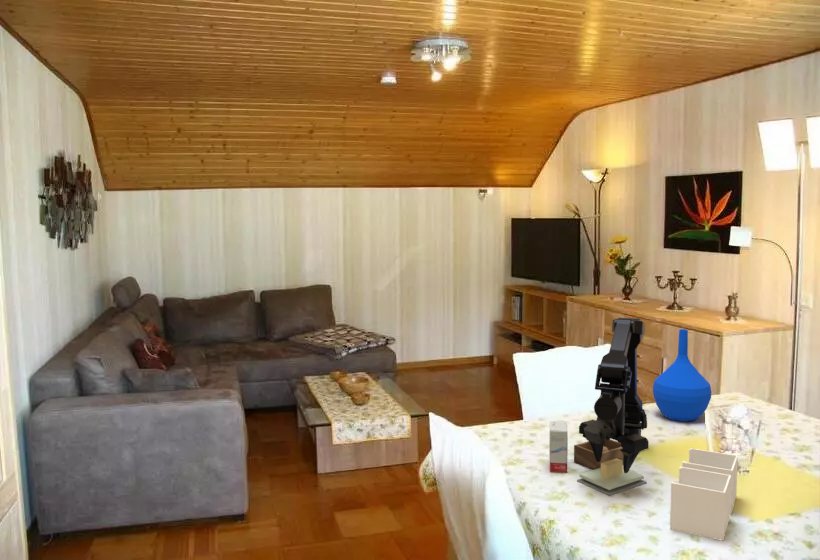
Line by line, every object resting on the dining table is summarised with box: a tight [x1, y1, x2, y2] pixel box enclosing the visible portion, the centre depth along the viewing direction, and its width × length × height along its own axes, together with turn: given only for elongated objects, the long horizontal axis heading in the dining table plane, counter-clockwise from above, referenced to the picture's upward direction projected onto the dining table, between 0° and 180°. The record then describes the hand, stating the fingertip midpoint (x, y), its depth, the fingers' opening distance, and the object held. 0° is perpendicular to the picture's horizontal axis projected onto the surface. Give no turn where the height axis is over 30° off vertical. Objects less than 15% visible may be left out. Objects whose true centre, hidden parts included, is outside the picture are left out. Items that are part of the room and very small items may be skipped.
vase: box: [652, 328, 712, 422], centre depth 234 cm, size 18×18×30 cm
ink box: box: [548, 421, 569, 474], centre depth 193 cm, size 9×5×12 cm, turn 168°
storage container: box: [669, 447, 739, 541], centre depth 163 cm, size 25×11×11 cm, turn 149°
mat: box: [576, 478, 648, 497], centre depth 182 cm, size 14×11×1 cm
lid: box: [579, 458, 645, 490], centre depth 182 cm, size 13×10×5 cm
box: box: [573, 439, 623, 471], centre depth 196 cm, size 12×9×5 cm
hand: (611, 467), depth 182 cm, fingers open, 9 cm apart
